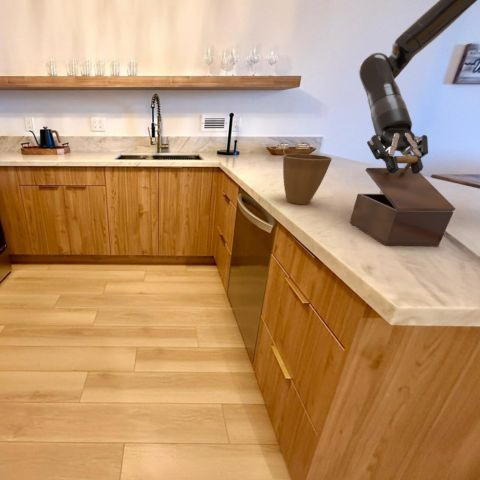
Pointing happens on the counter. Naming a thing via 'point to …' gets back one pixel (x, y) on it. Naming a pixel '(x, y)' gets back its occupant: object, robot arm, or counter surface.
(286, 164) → the plant pot
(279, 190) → the counter surface
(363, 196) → the bread box
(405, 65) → the robot arm
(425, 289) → the counter surface
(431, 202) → the box lid
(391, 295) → the counter surface
